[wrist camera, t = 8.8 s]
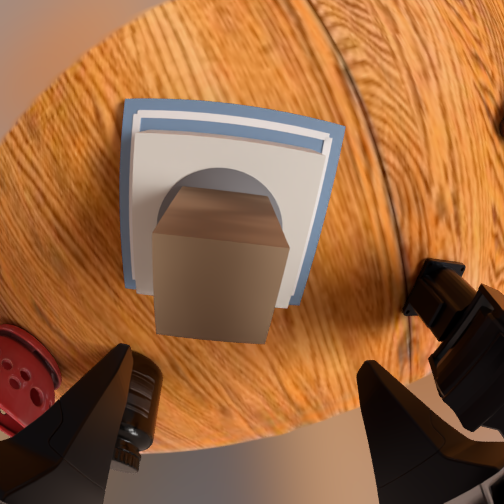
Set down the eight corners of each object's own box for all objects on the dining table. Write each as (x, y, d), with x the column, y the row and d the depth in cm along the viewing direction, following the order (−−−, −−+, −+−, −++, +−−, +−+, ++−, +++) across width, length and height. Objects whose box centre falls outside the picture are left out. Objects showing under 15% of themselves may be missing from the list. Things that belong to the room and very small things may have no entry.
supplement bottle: (94, 350, 25) (61, 444, 14) (145, 344, 24) (118, 454, 14) (126, 387, 28) (107, 472, 17) (174, 383, 28) (163, 479, 17)
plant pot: (81, 391, 29) (60, 462, 18) (16, 367, 27) (-12, 424, 17) (53, 325, 23) (8, 411, 12) (-17, 301, 21) (-62, 363, 11)
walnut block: (268, 196, 14) (289, 248, 9) (254, 269, 16) (264, 344, 11) (182, 186, 14) (152, 232, 8) (178, 261, 16) (156, 333, 10)
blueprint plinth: (340, 125, 16) (367, 129, 13) (296, 297, 23) (307, 331, 19) (130, 99, 15) (104, 96, 11) (128, 281, 21) (112, 312, 17)
